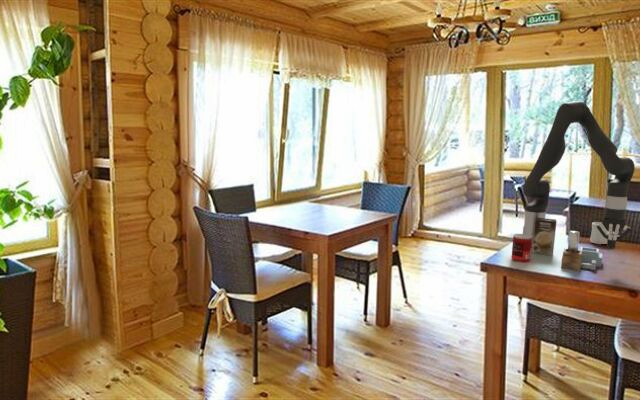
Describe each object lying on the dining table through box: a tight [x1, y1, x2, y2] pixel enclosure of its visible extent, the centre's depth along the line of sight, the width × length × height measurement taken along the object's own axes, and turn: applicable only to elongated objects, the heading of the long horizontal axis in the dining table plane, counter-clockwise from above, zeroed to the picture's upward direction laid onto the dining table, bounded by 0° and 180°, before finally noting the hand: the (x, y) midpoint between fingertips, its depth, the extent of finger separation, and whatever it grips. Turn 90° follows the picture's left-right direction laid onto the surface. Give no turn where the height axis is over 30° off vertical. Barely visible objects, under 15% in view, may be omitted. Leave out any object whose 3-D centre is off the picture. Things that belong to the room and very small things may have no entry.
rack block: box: [579, 246, 603, 268], centre depth 214 cm, size 10×8×6 cm
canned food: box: [511, 233, 532, 263], centre depth 217 cm, size 8×8×11 cm
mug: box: [589, 221, 607, 245], centre depth 252 cm, size 12×9×10 cm
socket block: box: [560, 247, 582, 272], centre depth 209 cm, size 7×10×7 cm
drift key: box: [580, 260, 597, 271], centre depth 207 cm, size 10×4×3 cm, turn 60°
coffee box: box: [531, 217, 557, 256], centre depth 229 cm, size 9×6×16 cm
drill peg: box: [567, 230, 580, 253], centre depth 208 cm, size 4×4×10 cm
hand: (610, 248), depth 202 cm, fingers closed
